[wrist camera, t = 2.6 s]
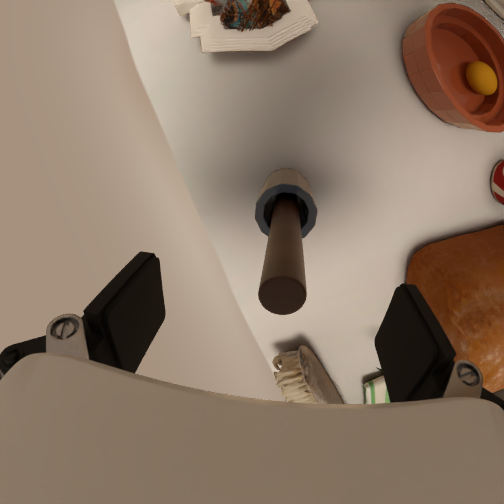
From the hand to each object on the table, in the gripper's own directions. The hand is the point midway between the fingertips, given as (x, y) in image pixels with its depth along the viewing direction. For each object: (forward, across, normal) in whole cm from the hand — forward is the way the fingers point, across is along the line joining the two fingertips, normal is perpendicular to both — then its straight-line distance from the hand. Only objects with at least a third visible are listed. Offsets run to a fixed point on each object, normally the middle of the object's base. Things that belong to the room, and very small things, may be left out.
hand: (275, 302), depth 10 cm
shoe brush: (+13, -7, +29) cm, 32 cm away
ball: (+14, -18, -16) cm, 28 cm away
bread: (+16, -28, +5) cm, 33 cm away
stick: (+16, 0, 0) cm, 16 cm away
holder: (+16, 0, 0) cm, 17 cm away
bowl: (+16, -16, -16) cm, 28 cm away
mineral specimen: (+17, +4, -18) cm, 24 cm away
